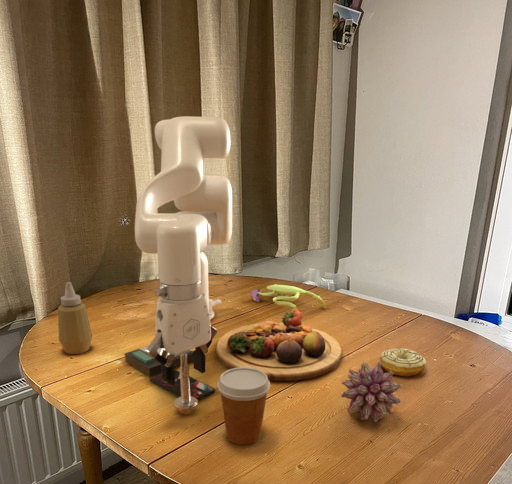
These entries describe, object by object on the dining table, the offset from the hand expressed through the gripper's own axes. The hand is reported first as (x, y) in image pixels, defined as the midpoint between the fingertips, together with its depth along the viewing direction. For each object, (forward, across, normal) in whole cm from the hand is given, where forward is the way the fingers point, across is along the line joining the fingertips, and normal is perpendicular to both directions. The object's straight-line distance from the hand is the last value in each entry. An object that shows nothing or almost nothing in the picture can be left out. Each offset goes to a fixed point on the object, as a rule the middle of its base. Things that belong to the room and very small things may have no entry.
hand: (184, 375), depth 98 cm
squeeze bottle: (+8, -3, +43) cm, 44 cm away
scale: (+8, +9, +23) cm, 26 cm away
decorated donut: (+8, +50, -19) cm, 54 cm away
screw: (+8, 0, 0) cm, 8 cm away
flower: (+8, +26, -26) cm, 38 cm away
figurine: (+8, +64, +32) cm, 72 cm away
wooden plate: (+8, +34, +7) cm, 36 cm away
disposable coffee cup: (+8, +3, -14) cm, 17 cm away
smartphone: (+8, +5, +9) cm, 13 cm away
